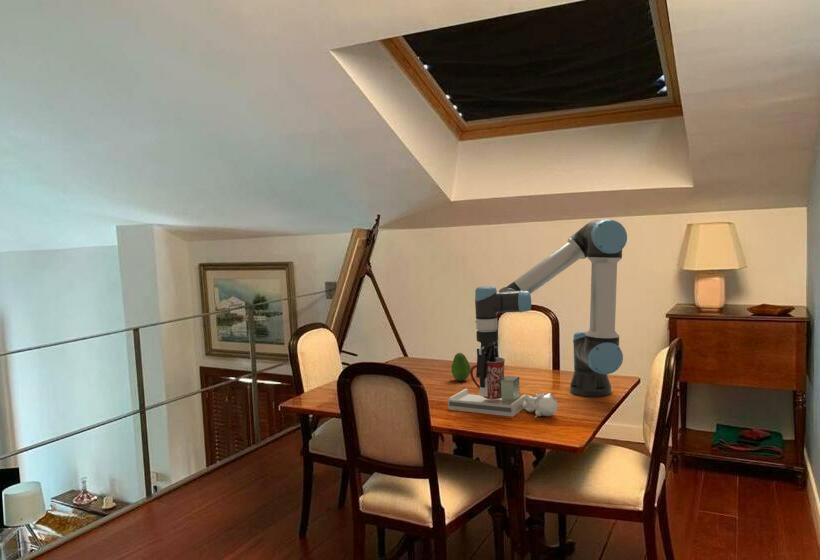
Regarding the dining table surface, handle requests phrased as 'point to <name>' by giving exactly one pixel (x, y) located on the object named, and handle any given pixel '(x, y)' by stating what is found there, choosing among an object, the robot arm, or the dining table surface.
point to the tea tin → (510, 389)
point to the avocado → (460, 367)
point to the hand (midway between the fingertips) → (489, 392)
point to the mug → (492, 377)
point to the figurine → (541, 404)
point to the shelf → (484, 404)
